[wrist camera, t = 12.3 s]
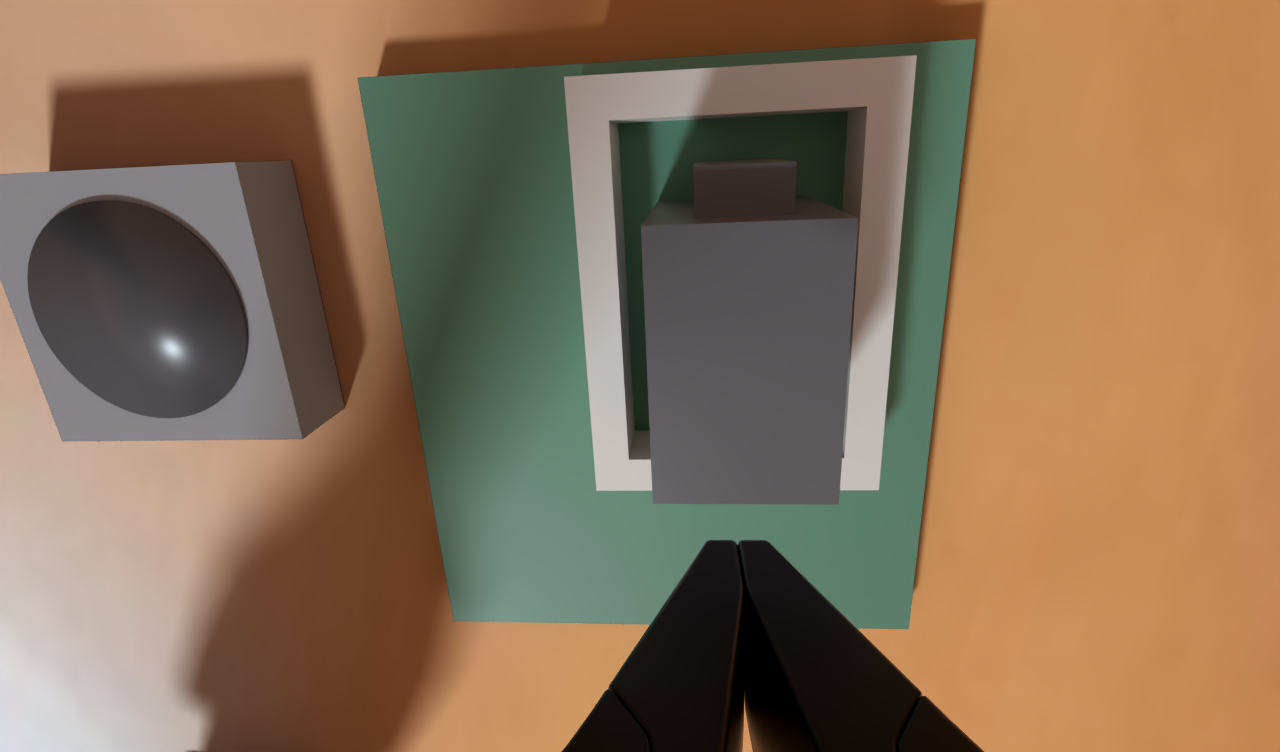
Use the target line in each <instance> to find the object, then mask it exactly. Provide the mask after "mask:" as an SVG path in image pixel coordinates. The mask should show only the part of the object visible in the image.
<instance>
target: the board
mask: <svg viewBox="0 0 1280 752" xmlns="http://www.w3.org/2000/svg"><path fill="white" fill-rule="evenodd" d="M975 44H976V39H965V40H949V41H933V42H917V43H901V44H885V45H869V46H853V47H837V48H822V49H806V50H790V51H774V52H758V53H742V54H726V55H710V56H694V57H678V58H662V59H647V60H631V61H615V62H599V63H583V64H567V65H551V66H535V67H519V68H503V69H487V70H472V71H456V72H440V73H424V74H408V75H392V76H376V77H360V78H358V83H359V89H360V94H361V100H362V106H363V111H364V117H365V123H366V128H367V134H368V140H369V145H370V151H371V157H372V162H373V168H374V174H375V179H376V185H377V191H378V196H379V202H380V208H381V213H382V219H383V225H384V230H385V236H386V242H387V247H388V253H389V259H390V264H391V270H392V276H393V281H394V287H395V293H396V298H397V304H398V310H399V315H400V321H401V327H402V332H403V338H404V344H405V349H406V355H407V361H408V366H409V372H410V378H411V383H412V389H413V395H414V400H415V406H416V412H417V417H418V423H419V429H420V434H421V440H422V446H423V451H424V457H425V463H426V468H427V474H428V480H429V485H430V491H431V497H432V502H433V508H434V514H435V519H436V525H437V531H438V536H439V542H440V548H441V553H442V559H443V565H444V570H445V576H446V582H447V587H448V593H449V599H450V604H451V610H452V616H453V621H481V622H536V623H592V624H648V625H650V624H651V623H652V621H653V620H654V618H655V617H656V615H657V614H658V612H659V611H660V609H661V608H662V606H663V605H664V603H665V602H666V600H667V599H668V597H669V596H670V594H671V593H672V592H673V590H674V589H675V587H676V586H677V584H678V583H679V581H680V580H681V578H682V577H683V575H684V574H685V572H686V571H687V569H688V568H689V566H690V565H691V563H692V562H693V560H694V559H695V557H696V556H697V554H698V553H699V551H700V550H701V548H702V547H703V545H704V544H705V543H706V542H707V541H708V540H733V541H735V542H736V544H738V542H739V541H741V540H766V541H768V542H770V543H771V544H772V545H773V546H774V547H775V548H776V549H777V550H778V551H779V552H780V553H781V554H782V555H783V556H784V557H785V558H786V559H787V560H788V561H789V562H790V563H791V564H792V565H793V566H794V567H795V568H796V569H797V570H798V571H799V572H800V573H801V574H802V575H803V576H804V577H805V578H806V579H807V580H808V581H809V582H810V583H811V584H812V585H813V586H814V587H815V588H816V589H817V590H818V591H819V592H820V593H821V594H822V595H823V596H824V597H825V598H827V599H828V600H829V601H830V602H831V603H832V604H833V605H834V606H835V607H836V608H837V609H838V610H839V611H840V612H841V613H842V614H843V615H844V616H845V617H846V618H847V619H848V620H849V621H850V622H851V623H852V624H853V625H854V626H855V627H856V628H872V629H909V621H910V612H911V604H912V595H913V586H914V577H915V569H916V560H917V551H918V542H919V534H920V525H921V516H922V507H923V499H924V490H925V481H926V472H927V464H928V455H929V446H930V437H931V429H932V420H933V411H934V402H935V394H936V385H937V376H938V367H939V359H940V350H941V341H942V332H943V324H944V315H945V306H946V297H947V289H948V280H949V271H950V262H951V254H952V245H953V236H954V227H955V219H956V210H957V201H958V192H959V184H960V175H961V166H962V157H963V149H964V140H965V131H966V122H967V114H968V105H969V96H970V87H971V79H972V70H973V61H974V52H975ZM760 158H771V159H779V160H787V161H795V162H797V164H796V193H795V196H801V195H805V196H808V197H810V198H812V199H815V200H817V201H820V202H822V203H824V204H827V205H829V206H831V207H834V208H836V209H839V210H841V211H843V212H846V213H848V214H850V215H853V216H855V217H857V218H858V230H857V245H856V260H855V275H854V289H853V304H852V319H851V334H850V349H849V363H848V378H847V393H846V408H845V422H844V437H843V452H842V467H841V482H840V496H839V505H801V504H653V497H652V474H651V451H650V428H649V404H648V381H647V358H646V334H645V311H644V288H643V264H642V241H641V225H642V223H643V222H644V220H645V219H646V218H647V216H648V215H649V213H650V212H651V210H652V209H653V207H654V206H655V205H656V203H657V202H658V201H675V200H694V185H693V162H694V161H716V160H738V159H760Z"/></svg>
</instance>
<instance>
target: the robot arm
mask: <svg viewBox="0 0 1280 752" xmlns="http://www.w3.org/2000/svg"><path fill="white" fill-rule="evenodd" d="M744 701H745V710H746V716H747V722H748V728H749V734H750V739H751V744H752V749H753V752H984V751H983V750H982V749H981V748H980V747H979V746H978V745H976V744H975V743H974V742H973V741H972V740H971V739H970V738H969V737H968V736H967V735H966V734H965V733H964V732H963V731H962V730H960V729H959V728H958V727H957V726H956V725H955V724H954V723H953V722H952V721H951V720H950V719H949V718H948V717H947V716H946V715H945V714H944V713H943V712H942V711H941V710H940V709H939V708H938V707H937V706H935V705H934V704H933V703H932V702H931V701H930V700H929V699H928V698H927V697H926V696H922V693H921V691H920V690H919V689H918V688H917V687H916V686H915V685H914V684H913V683H912V682H911V681H910V680H909V679H908V678H907V677H906V676H905V675H904V674H903V673H902V672H901V671H900V670H899V669H898V668H897V667H896V666H895V665H893V664H892V663H891V662H890V661H889V660H888V659H887V658H886V657H885V656H884V655H883V654H882V653H881V652H880V651H879V650H878V649H877V648H876V647H875V646H874V645H873V644H872V643H871V642H870V641H869V640H868V639H867V638H866V637H865V636H864V635H863V634H862V633H861V632H860V631H859V630H858V629H857V628H856V627H855V626H854V625H853V624H852V623H851V622H850V621H849V620H848V619H847V618H846V617H845V616H844V615H843V614H842V613H841V612H840V611H839V610H838V609H837V608H836V607H835V606H834V605H833V604H832V603H831V602H830V601H829V600H828V599H827V598H825V597H824V596H823V595H822V594H821V593H820V592H819V591H818V590H817V589H816V588H815V587H814V586H813V585H812V584H811V583H810V582H809V581H808V580H807V579H806V578H805V577H804V576H803V575H802V574H801V573H800V572H799V571H798V570H797V569H796V568H795V567H794V566H793V565H792V564H791V563H790V562H789V561H788V560H787V559H786V558H785V557H784V556H783V555H782V554H781V553H780V552H779V551H778V550H777V549H776V548H775V547H774V546H773V545H772V544H771V543H770V542H768V541H766V540H741V541H739V542H738V544H736V542H735V541H733V540H708V541H707V542H706V543H705V544H704V545H703V547H702V548H701V550H700V551H699V553H698V554H697V556H696V557H695V559H694V560H693V562H692V563H691V565H690V566H689V568H688V569H687V571H686V572H685V574H684V575H683V577H682V578H681V580H680V581H679V583H678V584H677V586H676V587H675V589H674V590H673V592H672V593H671V594H670V596H669V597H668V599H667V600H666V602H665V603H664V605H663V606H662V608H661V609H660V611H659V612H658V614H657V615H656V617H655V618H654V620H653V621H652V623H651V624H650V626H649V627H648V629H647V630H646V632H645V633H644V635H643V636H642V638H641V639H640V641H639V642H638V644H637V645H636V647H635V648H634V649H633V651H632V652H631V654H630V655H629V657H628V658H627V660H626V661H625V663H624V664H623V666H622V667H621V669H620V670H619V672H618V673H617V675H616V676H615V678H614V679H613V681H612V682H611V684H610V685H609V689H608V690H606V691H605V692H604V694H603V695H602V697H601V698H600V700H599V701H598V703H597V704H596V706H595V707H594V709H593V710H592V712H591V713H590V714H589V716H588V717H587V718H586V720H585V721H584V723H583V724H582V725H581V727H580V728H579V729H578V731H577V732H576V734H575V735H574V736H573V738H572V739H571V740H570V742H569V743H568V745H567V746H566V747H565V748H564V749H563V751H562V752H742V748H743V729H744Z"/></svg>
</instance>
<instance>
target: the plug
mask: <svg viewBox="0 0 1280 752" xmlns="http://www.w3.org/2000/svg"><path fill="white" fill-rule="evenodd" d="M796 164H797V162H795V161H787V160H779V159H771V158H760V159H738V160H716V161H694V162H693V185H694V200H675V201H658V202H657V203H656V205H655V206H654V207H653V209H652V210H651V212H650V213H649V215H648V216H647V218H646V219H645V220H644V222H643V223H642V225H641V241H642V264H643V288H644V311H645V334H646V358H647V381H648V404H649V428H650V451H651V474H652V497H653V504H801V505H839V496H840V482H841V467H842V452H843V437H844V422H845V408H846V393H847V378H848V363H849V349H850V334H851V319H852V304H853V289H854V275H855V260H856V245H857V230H858V218H857V217H855V216H853V215H850V214H848V213H846V212H843V211H841V210H839V209H836V208H834V207H831V206H829V205H827V204H824V203H822V202H820V201H817V200H815V199H812V198H810V197H808V196H805V195H801V196H795V193H796Z"/></svg>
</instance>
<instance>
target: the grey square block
mask: <svg viewBox="0 0 1280 752" xmlns="http://www.w3.org/2000/svg"><path fill="white" fill-rule="evenodd" d="M0 280H1V282H2V285H3V288H4V290H5V293H6V295H7V298H8V301H9V303H10V306H11V308H12V311H13V314H14V316H15V319H16V322H17V324H18V327H19V329H20V332H21V335H22V337H23V340H24V342H25V345H26V348H27V350H28V353H29V356H30V358H31V361H32V363H33V366H34V369H35V371H36V374H37V376H38V379H39V382H40V384H41V387H42V390H43V392H44V395H45V397H46V400H47V403H48V405H49V408H50V411H51V413H52V416H53V418H54V421H55V424H56V426H57V429H58V431H59V434H60V437H61V439H62V441H161V440H272V439H304V438H305V437H306V436H308V435H309V434H310V433H312V432H313V431H314V430H316V429H317V428H318V427H320V426H321V425H322V424H324V423H325V422H326V421H328V420H329V419H330V418H332V417H333V416H335V415H336V414H337V413H339V412H340V411H341V410H343V409H344V408H345V406H344V402H343V397H342V393H341V388H340V383H339V379H338V374H337V369H336V365H335V360H334V356H333V351H332V346H331V342H330V337H329V332H328V328H327V323H326V319H325V314H324V309H323V305H322V300H321V295H320V291H319V286H318V282H317V277H316V272H315V268H314V263H313V258H312V254H311V249H310V245H309V240H308V235H307V231H306V226H305V222H304V217H303V212H302V208H301V203H300V198H299V194H298V189H297V185H296V180H295V175H294V171H293V166H292V161H257V162H228V163H208V164H189V165H169V166H150V167H130V168H111V169H91V170H72V171H52V172H33V173H13V174H0Z"/></svg>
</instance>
